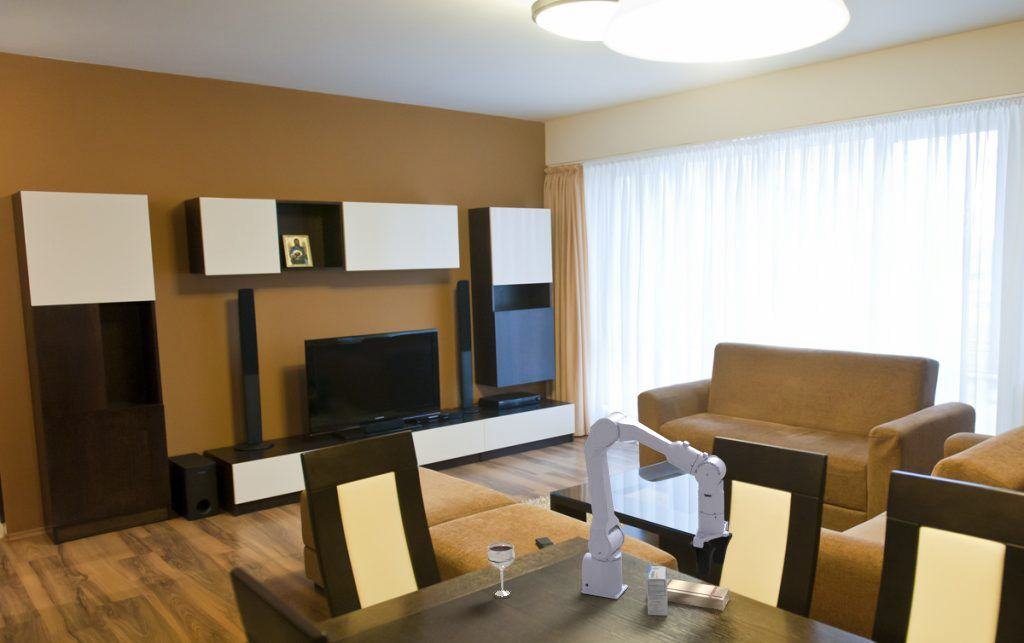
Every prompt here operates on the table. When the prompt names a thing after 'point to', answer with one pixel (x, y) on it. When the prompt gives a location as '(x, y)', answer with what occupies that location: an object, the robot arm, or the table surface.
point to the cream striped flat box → (697, 594)
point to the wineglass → (501, 560)
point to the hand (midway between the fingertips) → (711, 568)
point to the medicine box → (657, 590)
